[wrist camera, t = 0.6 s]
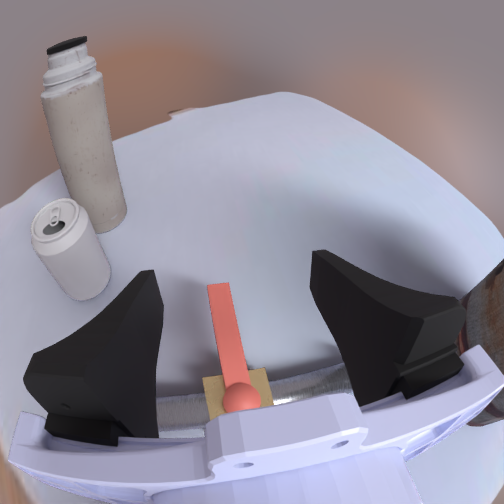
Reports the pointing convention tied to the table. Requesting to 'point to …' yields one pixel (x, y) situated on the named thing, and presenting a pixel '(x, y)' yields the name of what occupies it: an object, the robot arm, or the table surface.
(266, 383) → the pipe and valve
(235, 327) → the lever
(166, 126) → the table surface
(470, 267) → the table surface
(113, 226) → the thermos bottle
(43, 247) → the can
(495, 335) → the barrel
